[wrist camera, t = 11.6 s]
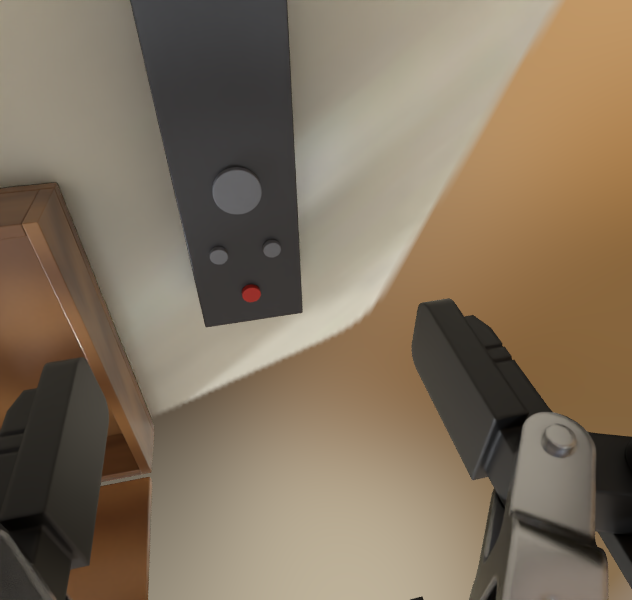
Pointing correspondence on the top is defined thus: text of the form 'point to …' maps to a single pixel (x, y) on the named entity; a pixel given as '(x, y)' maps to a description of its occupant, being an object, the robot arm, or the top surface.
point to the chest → (63, 321)
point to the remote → (229, 147)
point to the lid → (118, 545)
